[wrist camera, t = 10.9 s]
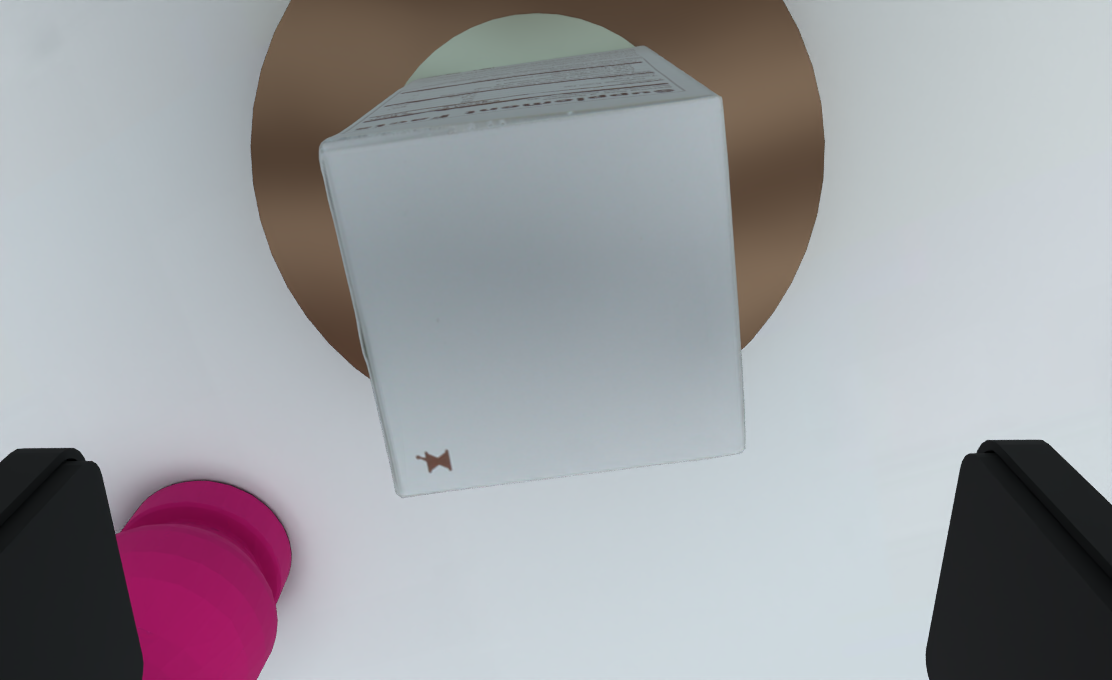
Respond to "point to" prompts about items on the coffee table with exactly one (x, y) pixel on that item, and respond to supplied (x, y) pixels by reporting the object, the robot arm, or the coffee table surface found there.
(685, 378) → the supplement box
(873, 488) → the coffee table surface
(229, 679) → the pepper mill
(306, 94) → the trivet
